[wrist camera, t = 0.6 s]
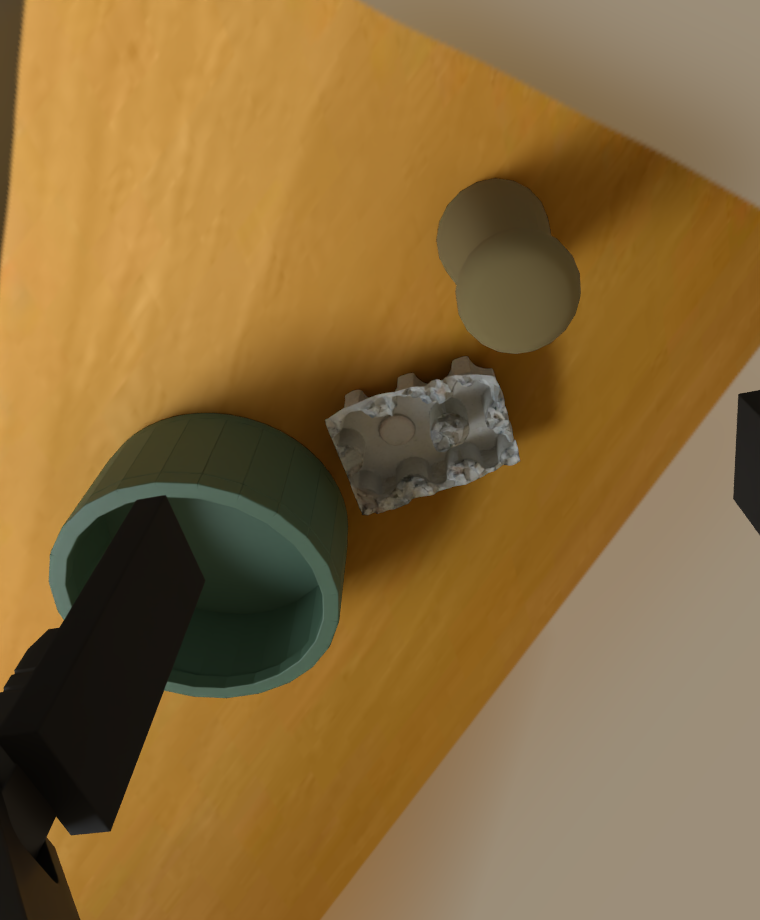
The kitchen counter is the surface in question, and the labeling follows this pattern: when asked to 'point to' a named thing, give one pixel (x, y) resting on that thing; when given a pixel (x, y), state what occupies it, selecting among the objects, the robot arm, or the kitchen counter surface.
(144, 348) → the kitchen counter surface
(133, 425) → the kitchen counter surface
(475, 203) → the cork
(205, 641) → the green round bowl
